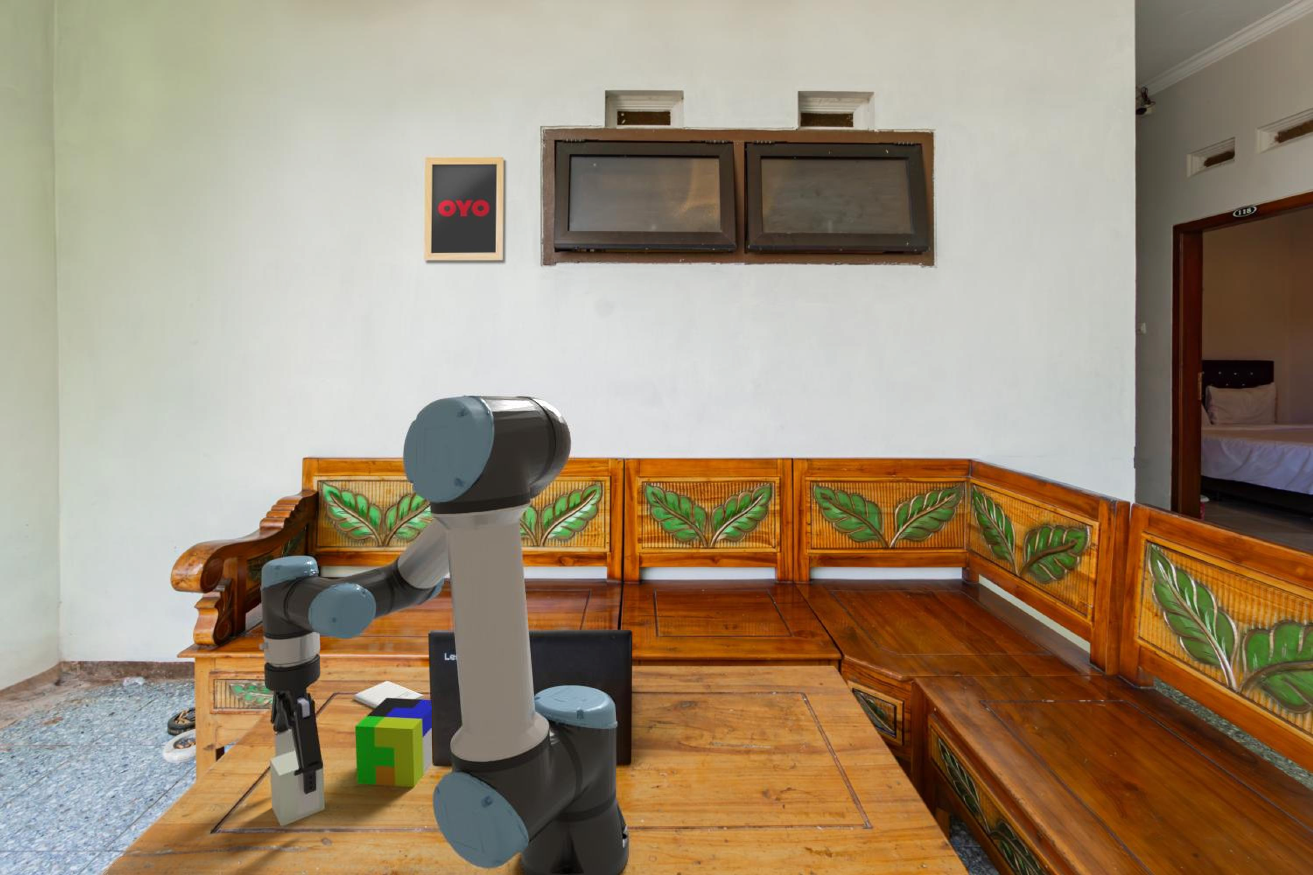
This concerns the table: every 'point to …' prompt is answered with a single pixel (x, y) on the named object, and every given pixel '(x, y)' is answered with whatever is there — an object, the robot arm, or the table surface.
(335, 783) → the table surface
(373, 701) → the external hard drive
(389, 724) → the puzzle toy
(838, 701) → the table surface
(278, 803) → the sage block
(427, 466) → the robot arm
